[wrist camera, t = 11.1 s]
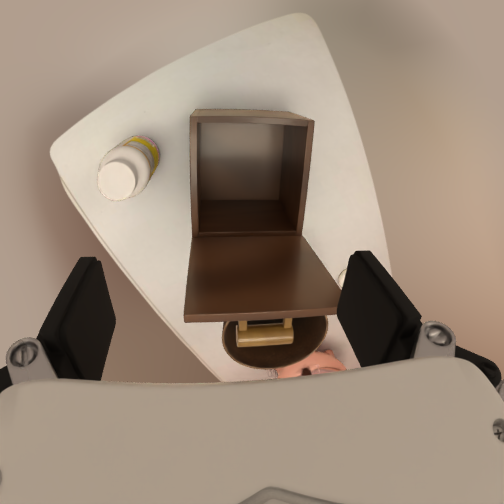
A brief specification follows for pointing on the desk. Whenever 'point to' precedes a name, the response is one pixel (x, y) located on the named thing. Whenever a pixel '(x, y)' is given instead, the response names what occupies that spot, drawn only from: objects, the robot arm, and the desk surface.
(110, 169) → the supplement bottle
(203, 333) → the desk surface
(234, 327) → the flower pot
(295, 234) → the chest
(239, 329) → the brown wooden box lid
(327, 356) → the piggy bank
